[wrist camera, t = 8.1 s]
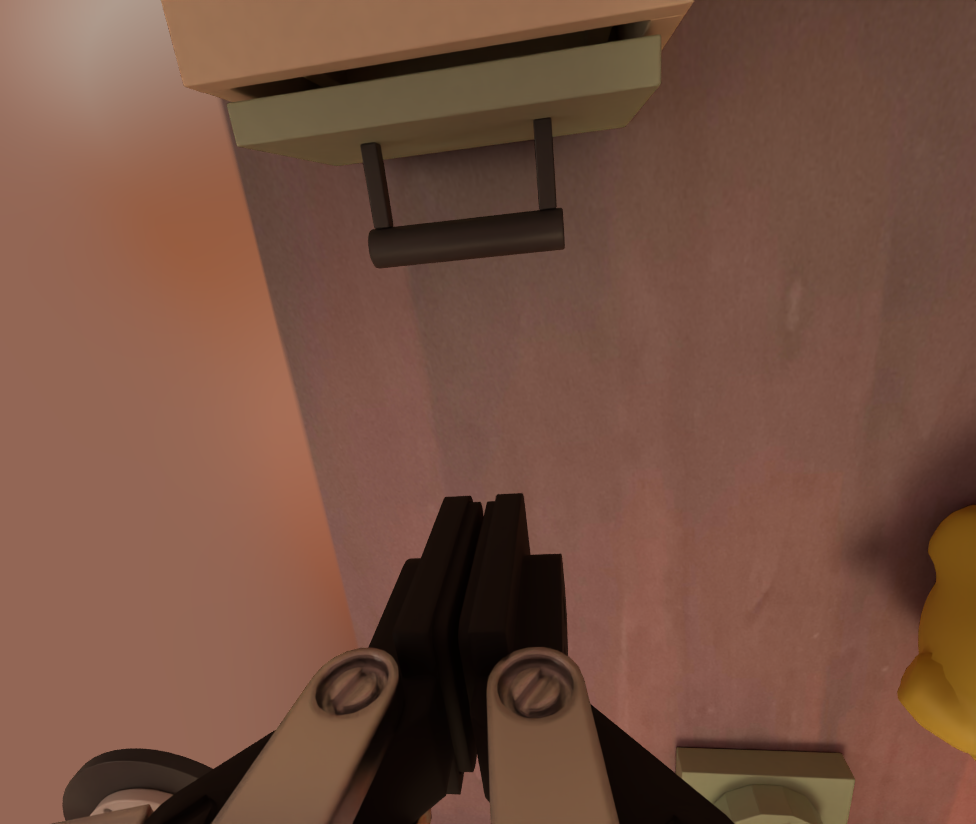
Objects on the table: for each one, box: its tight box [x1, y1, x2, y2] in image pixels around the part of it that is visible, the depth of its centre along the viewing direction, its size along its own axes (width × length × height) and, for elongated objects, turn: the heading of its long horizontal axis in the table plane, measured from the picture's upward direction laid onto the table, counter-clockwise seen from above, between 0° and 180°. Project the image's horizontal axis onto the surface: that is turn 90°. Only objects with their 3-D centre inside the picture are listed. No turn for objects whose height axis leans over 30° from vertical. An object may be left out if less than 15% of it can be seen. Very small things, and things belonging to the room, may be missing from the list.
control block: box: [676, 747, 855, 824], centre depth 34 cm, size 10×8×4 cm
